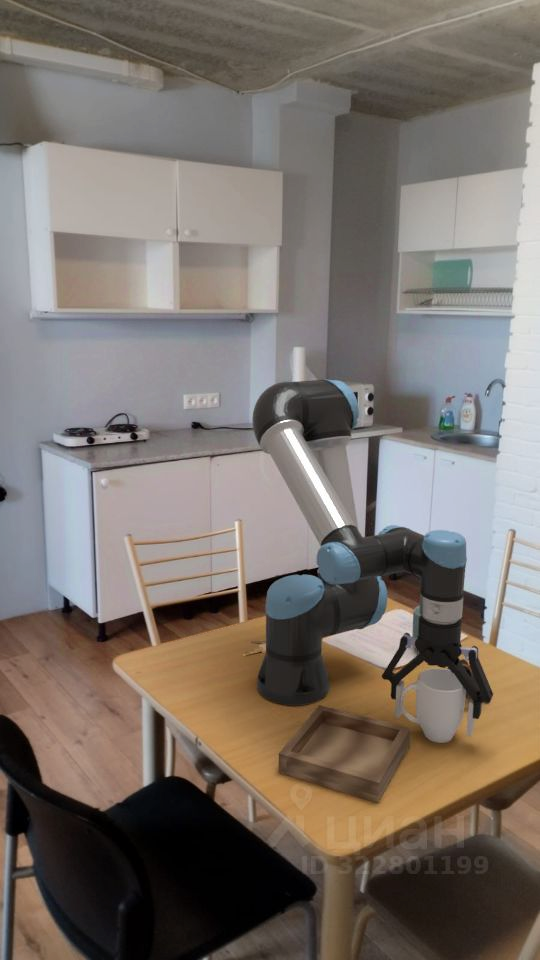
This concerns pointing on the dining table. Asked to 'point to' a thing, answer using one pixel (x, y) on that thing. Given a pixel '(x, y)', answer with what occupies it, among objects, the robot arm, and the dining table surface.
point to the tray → (345, 752)
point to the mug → (437, 703)
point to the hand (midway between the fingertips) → (433, 723)
